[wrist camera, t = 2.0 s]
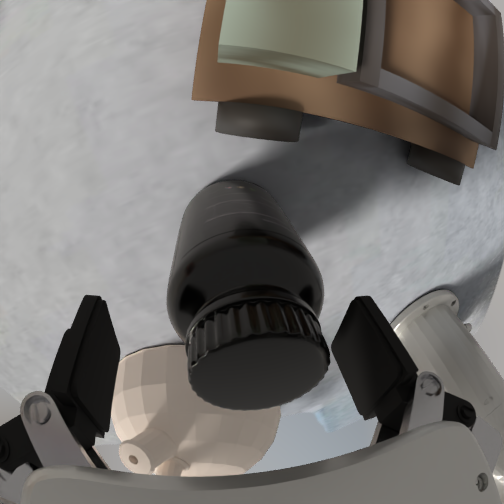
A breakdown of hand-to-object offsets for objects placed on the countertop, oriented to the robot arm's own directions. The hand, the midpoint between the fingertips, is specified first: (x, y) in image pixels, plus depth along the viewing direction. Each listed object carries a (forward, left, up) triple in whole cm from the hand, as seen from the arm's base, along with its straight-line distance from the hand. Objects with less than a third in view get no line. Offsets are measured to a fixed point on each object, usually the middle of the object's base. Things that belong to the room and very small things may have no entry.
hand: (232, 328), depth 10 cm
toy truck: (-8, -16, -10) cm, 20 cm away
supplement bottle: (-1, 0, -10) cm, 10 cm away
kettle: (+2, +22, -10) cm, 25 cm away
